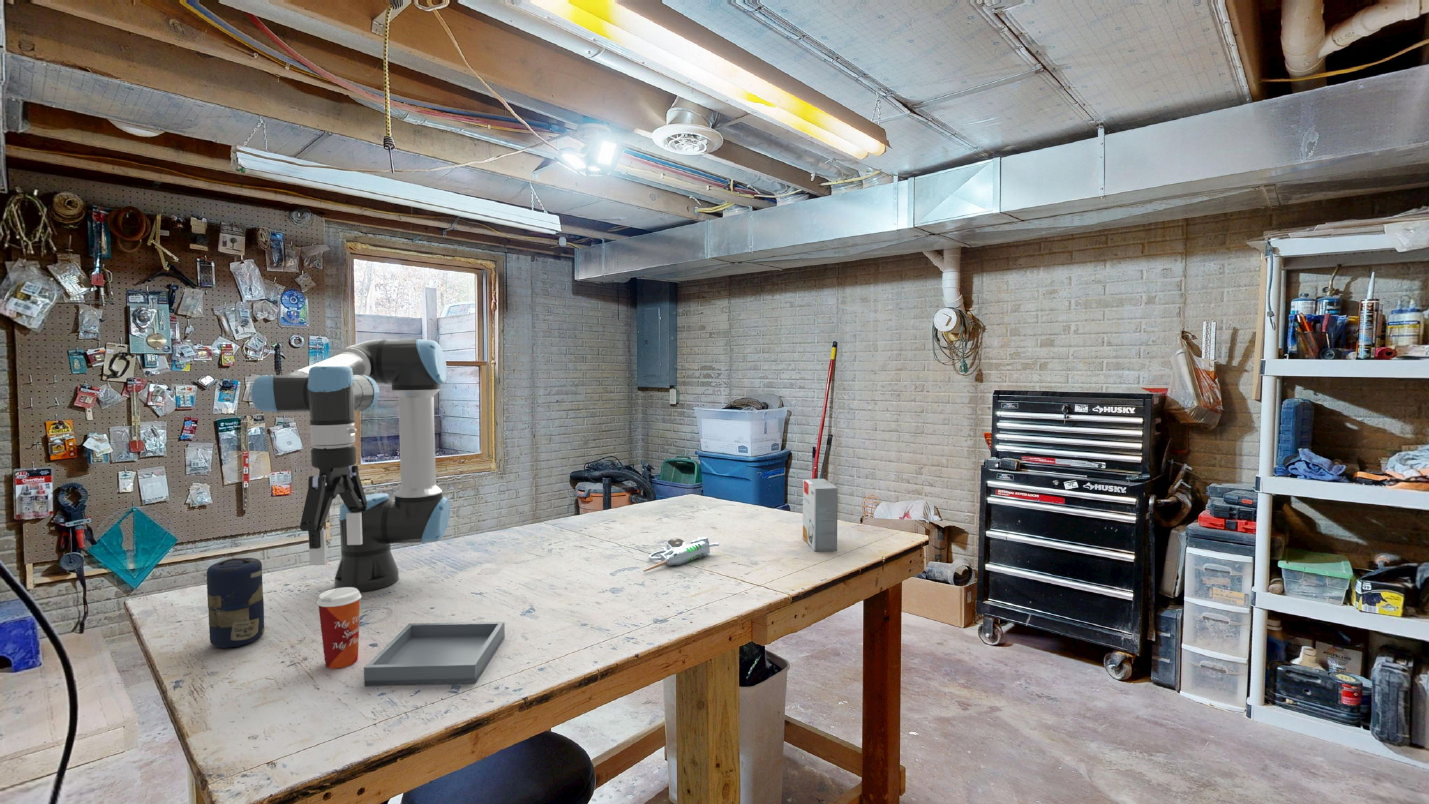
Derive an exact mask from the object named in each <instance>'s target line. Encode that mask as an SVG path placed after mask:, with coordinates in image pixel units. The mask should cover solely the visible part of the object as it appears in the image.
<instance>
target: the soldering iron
mask: <svg viewBox="0 0 1429 804" xmlns="http://www.w3.org/2000/svg"><path fill="white" fill-rule="evenodd" d="M716 546H717V547H718V546H720V543H719V542H712V543H710V542H709V537H705V536H700V537H696V539H694V540H692V541H690V544H686V542H685V541H684V540H683V539H682V538H671V539H669V540H666V547H660V549H661V550H658V551H655V552H652V553H651V554H650V555H649V556H648V558H649V560H651V561H661V562H659V563H656V564H654V565H652V566H649V567H648V568H645V569H643V572H644V573H646V572H647V571H650V570H654V569H656V568H660V567H662V566H665V565H666V566H668V567H669V566H670V567H679V566H682V565H683V564H686V563H689V562H691V561H693V560H696V559H700V558H702V557H706V556H708V555H709V554H710V553H711V552H710V551H711V550H710V547H716Z"/></svg>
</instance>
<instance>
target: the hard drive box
mask: <svg viewBox="0 0 1429 804" xmlns="http://www.w3.org/2000/svg"><path fill="white" fill-rule="evenodd" d="M838 491H839V488H838V487H836V486H835V485H834V484H832V483H830V482H829V481H828V480H827V479H825V478H804V479H802V538H803V540H804V541H805V542H806V543H807V544H808V545H809V546H810V548H811V549H812V550H813V551H814V552H828V551H829V552H830V551H832V552H833V551H838V501H839V500H838V496H839V495H838V494H839V493H838Z"/></svg>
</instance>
